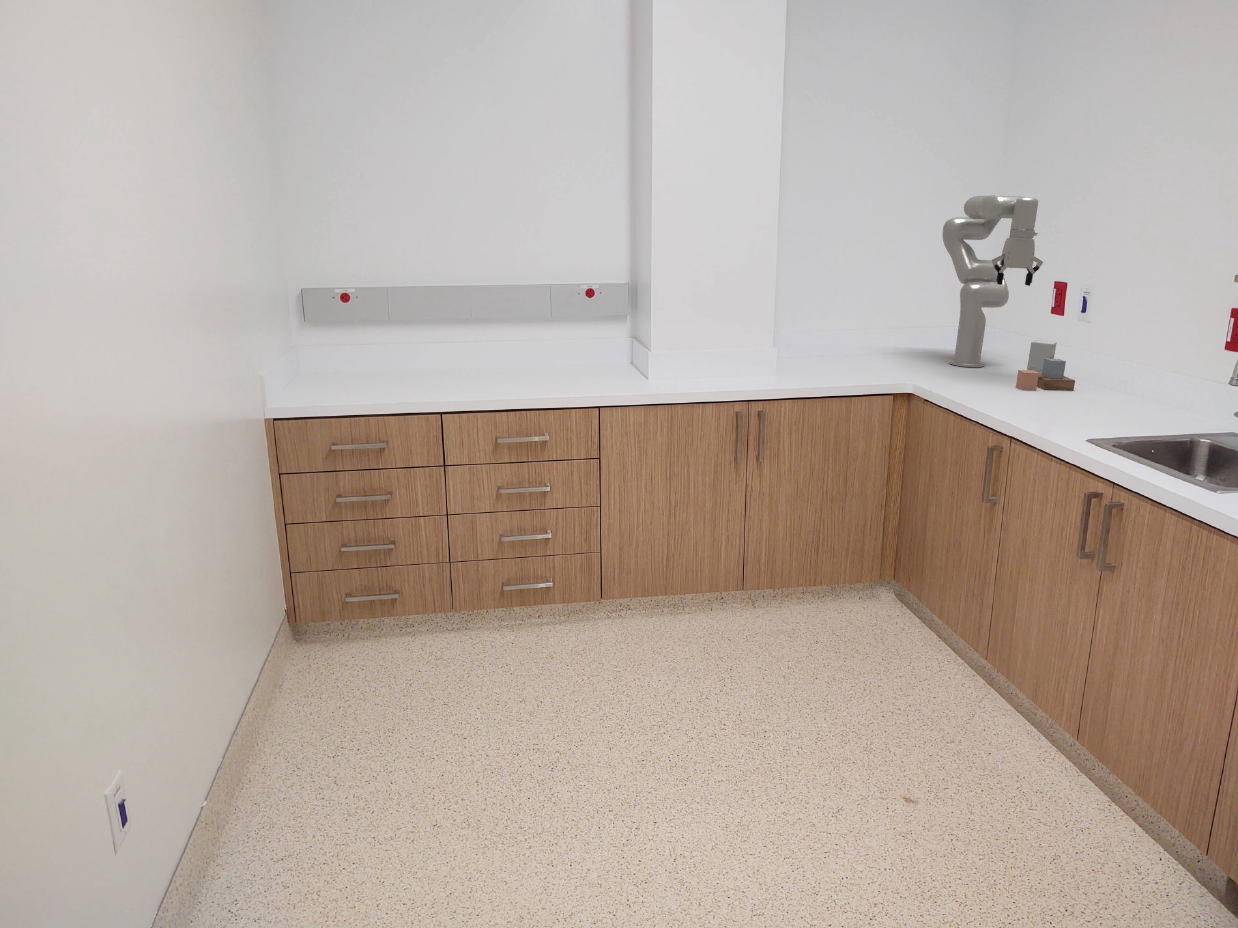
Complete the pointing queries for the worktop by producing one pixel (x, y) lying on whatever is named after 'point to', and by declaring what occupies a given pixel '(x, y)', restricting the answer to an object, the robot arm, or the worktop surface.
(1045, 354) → the supplement box
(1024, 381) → the terracotta block
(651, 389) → the worktop surface
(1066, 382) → the walnut base
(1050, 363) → the grey block
